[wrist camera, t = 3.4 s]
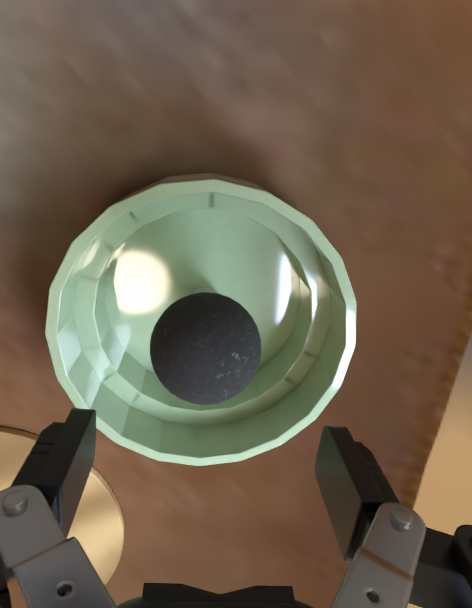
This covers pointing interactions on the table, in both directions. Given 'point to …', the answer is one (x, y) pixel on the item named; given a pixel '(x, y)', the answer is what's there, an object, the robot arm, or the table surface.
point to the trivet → (91, 510)
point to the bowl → (182, 282)
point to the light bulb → (205, 348)
